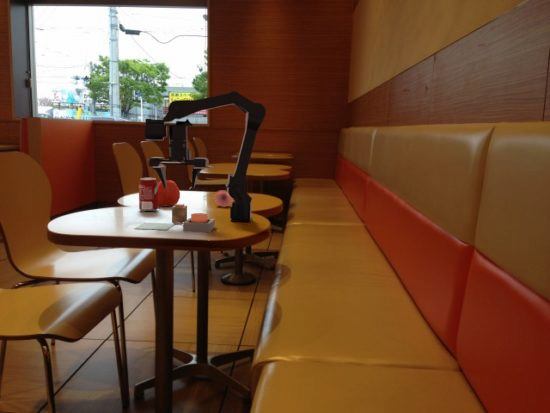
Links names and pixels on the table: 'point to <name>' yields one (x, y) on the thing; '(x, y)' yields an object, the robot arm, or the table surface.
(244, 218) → the robot arm
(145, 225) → the board
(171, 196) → the apple
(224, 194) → the flower
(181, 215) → the block
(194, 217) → the button
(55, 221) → the table surface
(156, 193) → the soda can
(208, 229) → the button box
